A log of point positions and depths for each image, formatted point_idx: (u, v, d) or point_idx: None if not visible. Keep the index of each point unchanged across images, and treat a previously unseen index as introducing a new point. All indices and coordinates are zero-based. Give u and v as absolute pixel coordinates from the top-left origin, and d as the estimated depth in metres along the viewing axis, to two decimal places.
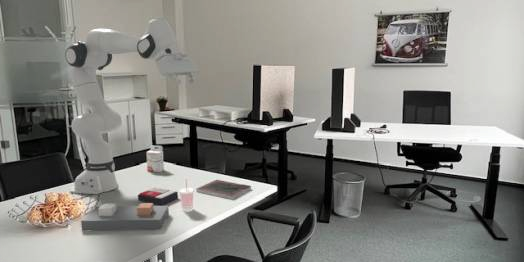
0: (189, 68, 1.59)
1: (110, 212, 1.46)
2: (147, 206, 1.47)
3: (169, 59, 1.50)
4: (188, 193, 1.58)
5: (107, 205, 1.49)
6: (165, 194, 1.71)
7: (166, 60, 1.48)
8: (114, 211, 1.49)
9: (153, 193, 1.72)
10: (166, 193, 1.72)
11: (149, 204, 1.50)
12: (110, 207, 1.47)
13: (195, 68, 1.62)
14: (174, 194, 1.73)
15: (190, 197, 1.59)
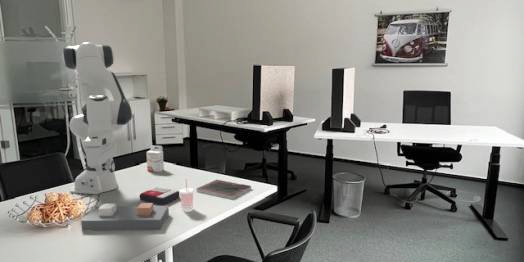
0: (112, 153, 1.49)
1: (110, 212, 1.46)
2: (147, 206, 1.47)
3: (101, 149, 1.38)
4: (188, 193, 1.58)
5: (107, 205, 1.49)
6: (167, 194, 1.71)
7: (99, 152, 1.36)
8: (114, 211, 1.49)
9: (155, 193, 1.73)
10: (168, 193, 1.73)
11: (149, 204, 1.50)
12: (110, 207, 1.47)
13: (115, 151, 1.53)
14: (176, 194, 1.74)
15: (190, 197, 1.59)
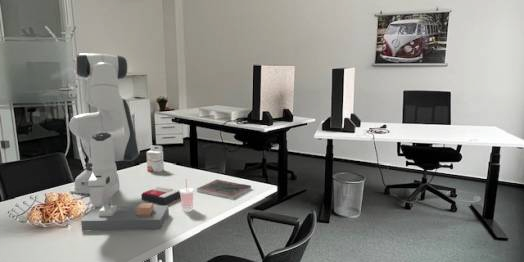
0: (115, 189, 1.52)
1: (110, 214, 1.46)
2: (147, 206, 1.47)
3: (105, 187, 1.41)
4: (188, 193, 1.58)
5: None
6: (168, 193, 1.72)
7: (103, 191, 1.39)
8: (114, 213, 1.49)
9: (156, 192, 1.73)
10: (169, 192, 1.73)
11: (149, 204, 1.50)
12: (110, 209, 1.47)
13: (118, 186, 1.56)
14: (177, 193, 1.74)
15: (190, 197, 1.59)
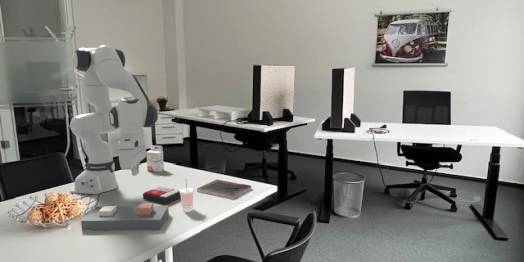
0: (142, 156, 1.49)
1: (110, 215, 1.46)
2: (147, 206, 1.47)
3: (133, 151, 1.38)
4: (188, 193, 1.58)
5: (107, 208, 1.49)
6: (170, 193, 1.72)
7: (132, 154, 1.36)
8: None
9: (158, 192, 1.74)
10: (171, 192, 1.73)
11: (149, 204, 1.50)
12: (110, 210, 1.47)
13: (145, 154, 1.53)
14: (179, 193, 1.74)
15: (190, 197, 1.59)
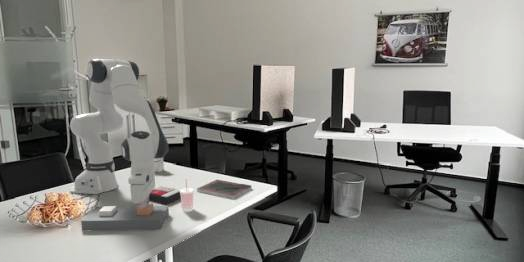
0: (152, 187, 1.52)
1: (110, 215, 1.46)
2: (147, 207, 1.48)
3: (144, 186, 1.41)
4: (188, 193, 1.58)
5: (107, 208, 1.49)
6: (171, 193, 1.72)
7: None
8: None
9: (159, 192, 1.74)
10: (172, 192, 1.74)
11: (149, 204, 1.50)
12: (110, 210, 1.47)
13: (154, 184, 1.56)
14: None
15: (190, 197, 1.59)
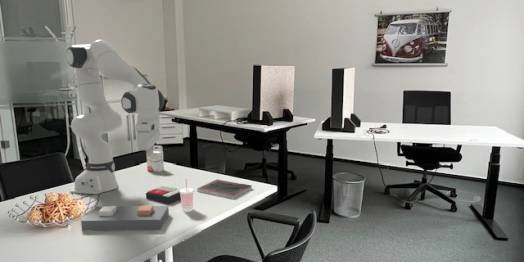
0: (156, 138, 1.61)
1: (110, 215, 1.46)
2: (147, 209, 1.48)
3: None
4: (188, 193, 1.58)
5: (107, 208, 1.49)
6: (172, 192, 1.73)
7: (148, 137, 1.48)
8: None
9: (161, 191, 1.75)
10: (173, 191, 1.74)
11: (149, 206, 1.50)
12: (110, 210, 1.47)
13: (159, 137, 1.65)
14: None
15: (190, 197, 1.59)
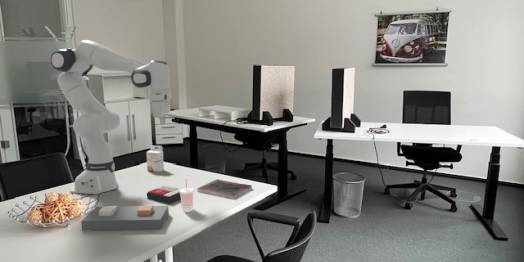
0: (168, 109, 1.80)
1: (110, 215, 1.46)
2: (147, 209, 1.48)
3: (162, 103, 1.70)
4: (188, 193, 1.58)
5: (107, 208, 1.49)
6: (173, 192, 1.73)
7: None
8: None
9: (162, 191, 1.75)
10: (174, 191, 1.74)
11: (149, 206, 1.50)
12: (110, 210, 1.47)
13: None
14: None
15: (190, 197, 1.59)
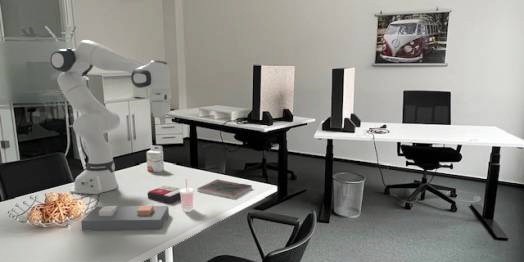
0: (168, 109, 1.80)
1: (110, 215, 1.46)
2: (147, 209, 1.48)
3: (162, 103, 1.70)
4: (188, 193, 1.58)
5: (107, 208, 1.49)
6: (174, 192, 1.73)
7: None
8: None
9: (162, 191, 1.75)
10: (175, 191, 1.75)
11: (149, 206, 1.50)
12: (110, 210, 1.47)
13: None
14: None
15: (190, 197, 1.59)
